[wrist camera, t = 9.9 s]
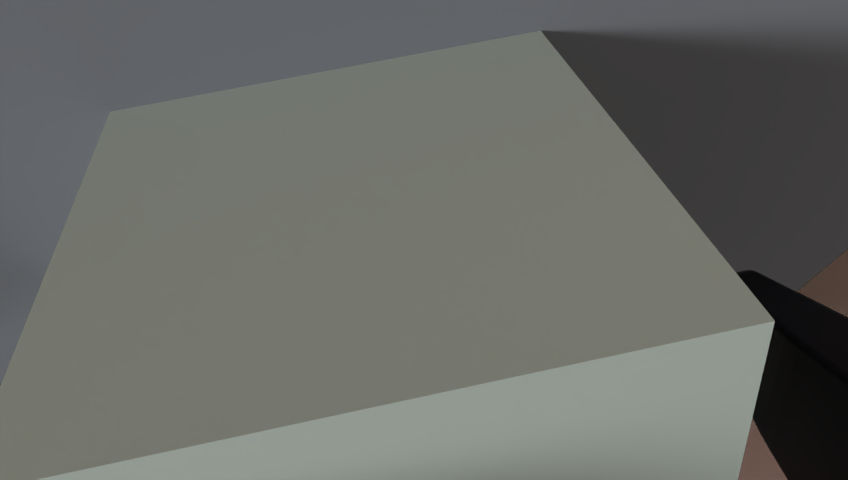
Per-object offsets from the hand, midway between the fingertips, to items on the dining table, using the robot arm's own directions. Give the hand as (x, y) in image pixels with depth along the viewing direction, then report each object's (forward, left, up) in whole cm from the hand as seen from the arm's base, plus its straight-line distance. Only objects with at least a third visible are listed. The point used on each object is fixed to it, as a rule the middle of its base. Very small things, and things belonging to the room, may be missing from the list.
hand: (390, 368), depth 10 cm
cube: (0, 0, -3) cm, 3 cm away
